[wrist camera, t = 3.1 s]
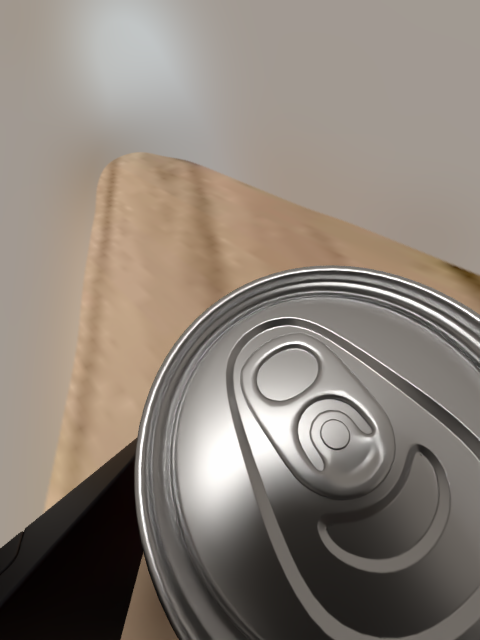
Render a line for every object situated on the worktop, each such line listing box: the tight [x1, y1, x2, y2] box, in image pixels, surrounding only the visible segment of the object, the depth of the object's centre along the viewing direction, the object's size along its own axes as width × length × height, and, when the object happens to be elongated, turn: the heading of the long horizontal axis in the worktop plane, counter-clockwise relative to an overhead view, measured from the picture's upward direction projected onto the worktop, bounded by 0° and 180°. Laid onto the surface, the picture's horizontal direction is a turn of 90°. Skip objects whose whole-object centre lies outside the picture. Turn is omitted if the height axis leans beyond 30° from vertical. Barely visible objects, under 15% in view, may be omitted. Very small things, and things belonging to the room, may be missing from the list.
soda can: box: [134, 266, 480, 640], centre depth 9 cm, size 7×7×12 cm
